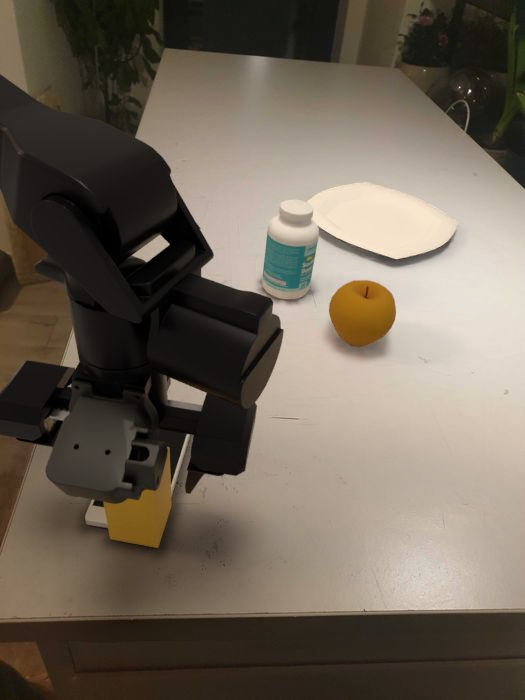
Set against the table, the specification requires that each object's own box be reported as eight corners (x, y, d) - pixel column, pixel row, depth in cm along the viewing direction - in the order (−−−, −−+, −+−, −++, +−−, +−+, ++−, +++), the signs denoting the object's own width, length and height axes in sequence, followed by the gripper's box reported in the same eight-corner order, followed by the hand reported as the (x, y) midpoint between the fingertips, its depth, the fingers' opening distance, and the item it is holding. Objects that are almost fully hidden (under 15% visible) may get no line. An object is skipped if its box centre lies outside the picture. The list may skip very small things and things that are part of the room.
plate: (398, 280, 86) (401, 270, 85) (278, 217, 99) (279, 207, 98) (473, 232, 102) (477, 223, 101) (361, 183, 115) (363, 174, 114)
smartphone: (196, 414, 60) (196, 408, 60) (159, 537, 49) (159, 532, 48) (135, 404, 60) (135, 399, 60) (84, 524, 49) (82, 519, 48)
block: (109, 539, 48) (99, 481, 42) (126, 497, 51) (118, 437, 45) (158, 548, 48) (154, 491, 42) (171, 505, 51) (169, 446, 45)
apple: (352, 312, 78) (365, 260, 72) (400, 343, 74) (418, 291, 68) (310, 334, 73) (320, 280, 68) (358, 369, 69) (374, 315, 63)
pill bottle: (306, 305, 79) (321, 223, 70) (257, 297, 79) (266, 214, 70) (310, 278, 84) (325, 199, 75) (265, 271, 85) (274, 191, 76)
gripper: (-91, 405, 29) (-19, 547, 39) (239, 462, 28) (225, 592, 39) (9, 293, 38) (47, 434, 48) (266, 335, 37) (249, 469, 47)
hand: (136, 479), depth 45 cm, fingers open, 9 cm apart
